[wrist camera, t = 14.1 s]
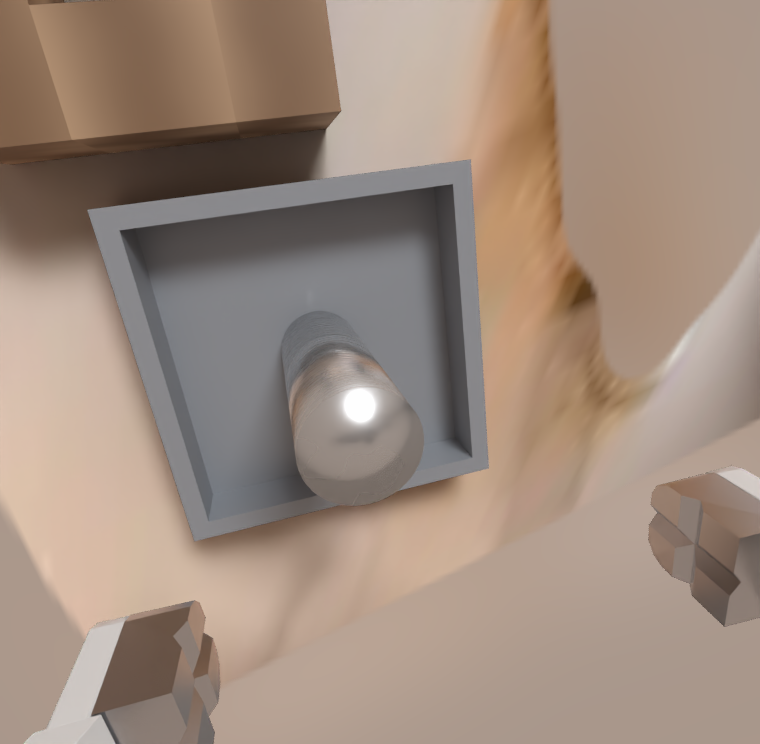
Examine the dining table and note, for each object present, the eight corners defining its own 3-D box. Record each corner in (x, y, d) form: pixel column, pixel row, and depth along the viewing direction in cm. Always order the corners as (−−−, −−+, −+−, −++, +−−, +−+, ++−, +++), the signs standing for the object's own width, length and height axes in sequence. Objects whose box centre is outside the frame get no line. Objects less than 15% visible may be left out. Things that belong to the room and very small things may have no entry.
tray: (443, 165, 22) (470, 159, 19) (464, 441, 26) (488, 468, 24) (112, 209, 19) (87, 209, 17) (202, 503, 24) (194, 541, 21)
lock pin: (351, 304, 22) (417, 375, 13) (362, 376, 23) (429, 489, 14) (273, 318, 21) (283, 403, 12) (289, 391, 22) (308, 519, 13)
